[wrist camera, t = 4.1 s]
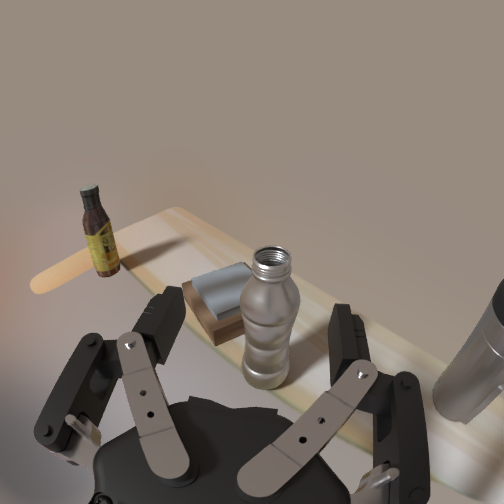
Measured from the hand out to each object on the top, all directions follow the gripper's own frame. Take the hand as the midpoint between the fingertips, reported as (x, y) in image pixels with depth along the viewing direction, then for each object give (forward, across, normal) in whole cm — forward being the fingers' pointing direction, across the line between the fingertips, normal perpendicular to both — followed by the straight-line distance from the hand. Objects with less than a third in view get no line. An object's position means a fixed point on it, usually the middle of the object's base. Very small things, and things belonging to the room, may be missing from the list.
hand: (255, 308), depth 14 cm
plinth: (+25, +7, +24) cm, 35 cm away
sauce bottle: (+31, +37, +24) cm, 54 cm away
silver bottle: (+12, 0, +24) cm, 27 cm away
